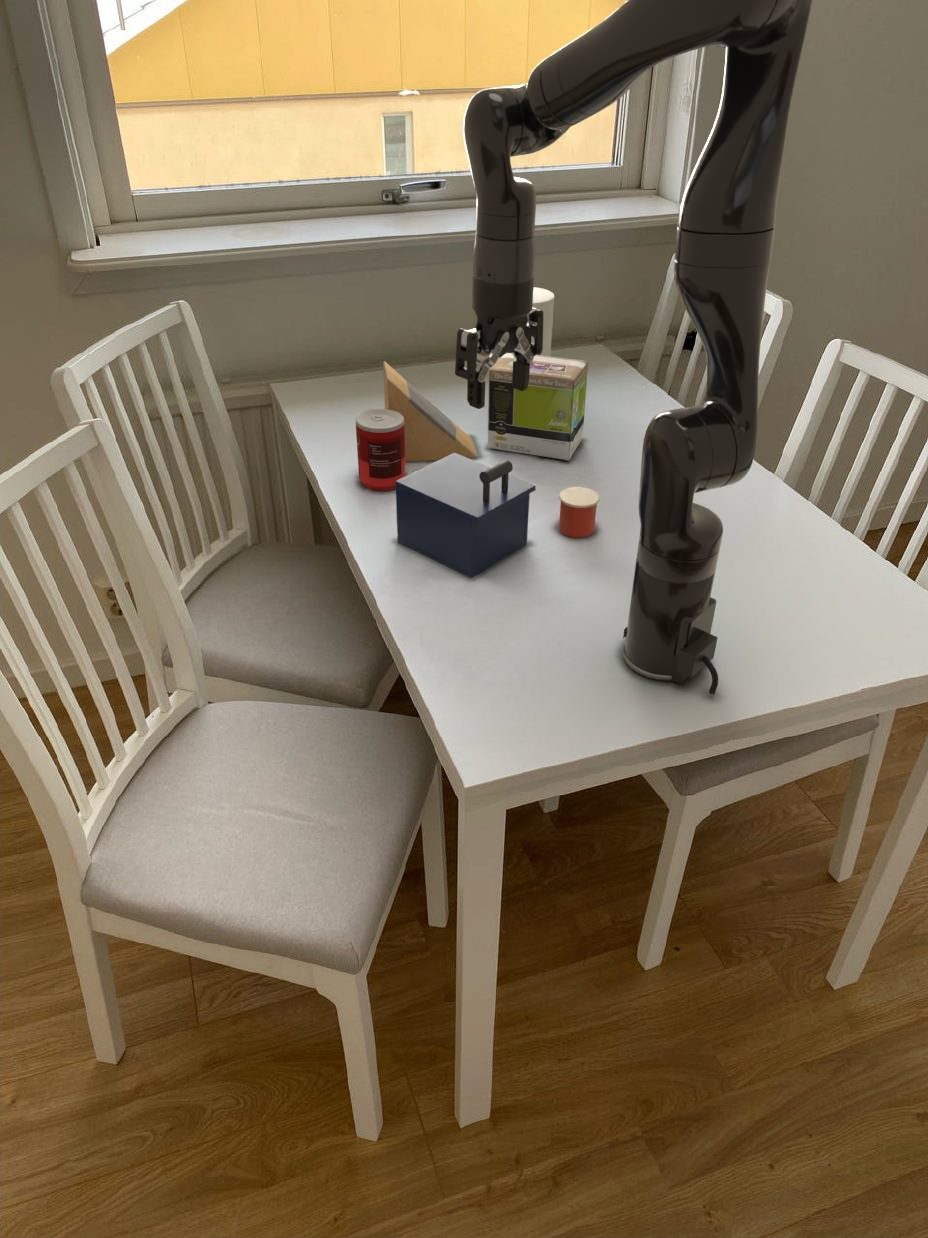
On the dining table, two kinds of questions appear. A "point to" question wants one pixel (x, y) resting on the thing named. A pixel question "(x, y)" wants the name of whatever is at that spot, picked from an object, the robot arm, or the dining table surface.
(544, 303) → the container
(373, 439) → the canned food
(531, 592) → the dining table surface
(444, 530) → the navy blue open box
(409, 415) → the sandwich container
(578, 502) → the plastic tub
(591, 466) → the dining table surface
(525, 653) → the dining table surface
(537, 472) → the dining table surface
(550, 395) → the tea box
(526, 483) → the cool box lid
